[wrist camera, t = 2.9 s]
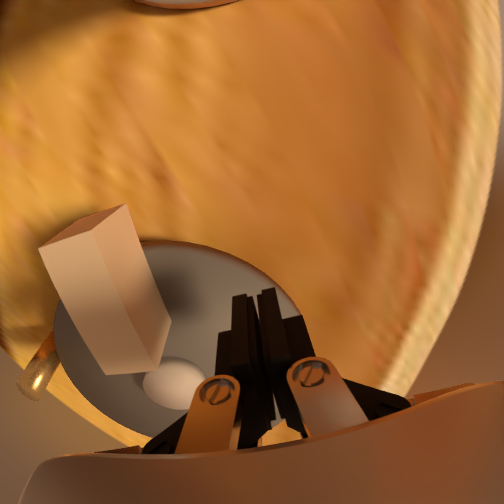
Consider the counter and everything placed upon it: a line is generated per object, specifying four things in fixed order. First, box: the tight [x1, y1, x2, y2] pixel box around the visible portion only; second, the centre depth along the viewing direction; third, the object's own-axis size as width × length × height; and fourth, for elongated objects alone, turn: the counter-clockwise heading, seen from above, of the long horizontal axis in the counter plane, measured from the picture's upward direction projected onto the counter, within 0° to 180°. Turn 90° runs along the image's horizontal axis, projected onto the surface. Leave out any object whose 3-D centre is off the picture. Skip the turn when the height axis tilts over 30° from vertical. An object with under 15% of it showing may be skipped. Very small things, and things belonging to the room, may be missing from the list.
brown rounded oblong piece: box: [16, 328, 61, 401], centre depth 18 cm, size 8×15×7 cm, turn 73°
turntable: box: [38, 203, 301, 438], centre depth 17 cm, size 20×18×6 cm
